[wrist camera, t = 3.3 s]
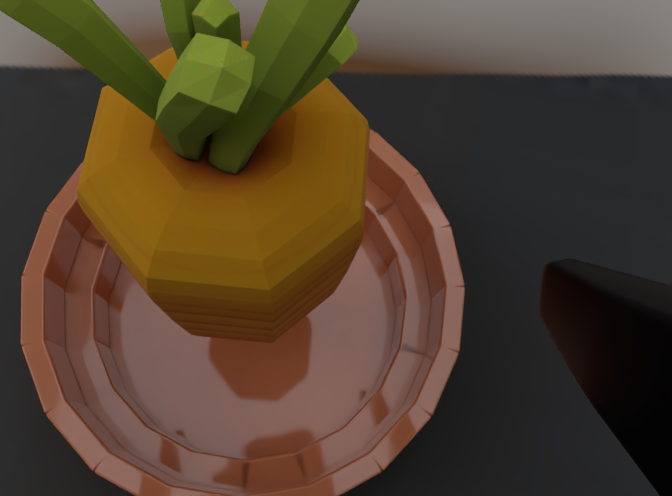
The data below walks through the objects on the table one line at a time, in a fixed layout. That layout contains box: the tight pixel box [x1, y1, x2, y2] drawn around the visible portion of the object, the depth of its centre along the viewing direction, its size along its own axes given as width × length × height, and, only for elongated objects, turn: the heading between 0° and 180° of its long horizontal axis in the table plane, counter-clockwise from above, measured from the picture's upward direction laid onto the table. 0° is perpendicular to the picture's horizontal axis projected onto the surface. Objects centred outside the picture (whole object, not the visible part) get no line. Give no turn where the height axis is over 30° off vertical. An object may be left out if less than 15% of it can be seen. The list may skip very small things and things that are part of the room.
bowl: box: [21, 129, 465, 496], centre depth 18 cm, size 12×12×4 cm
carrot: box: [0, 0, 370, 343], centre depth 12 cm, size 5×5×15 cm
